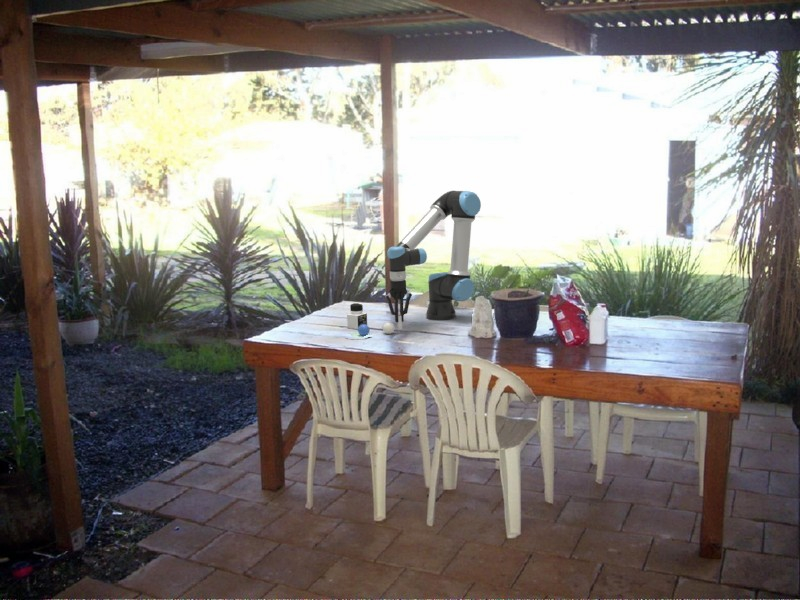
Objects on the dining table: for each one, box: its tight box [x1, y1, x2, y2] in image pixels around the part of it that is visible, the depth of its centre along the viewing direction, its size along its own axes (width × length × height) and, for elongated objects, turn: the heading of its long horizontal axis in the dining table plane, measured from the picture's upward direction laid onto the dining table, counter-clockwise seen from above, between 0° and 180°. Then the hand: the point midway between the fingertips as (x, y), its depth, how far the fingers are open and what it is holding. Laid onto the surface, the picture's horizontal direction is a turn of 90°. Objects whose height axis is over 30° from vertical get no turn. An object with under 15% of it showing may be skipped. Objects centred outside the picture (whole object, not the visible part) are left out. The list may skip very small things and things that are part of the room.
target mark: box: [349, 332, 371, 340], centre depth 384 cm, size 14×14×1 cm
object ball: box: [357, 324, 370, 336], centre depth 384 cm, size 6×6×6 cm
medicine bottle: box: [346, 302, 368, 330], centre depth 401 cm, size 7×7×12 cm
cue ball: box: [382, 321, 395, 335], centre depth 386 cm, size 6×6×6 cm
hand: (399, 328), depth 388 cm, fingers closed
